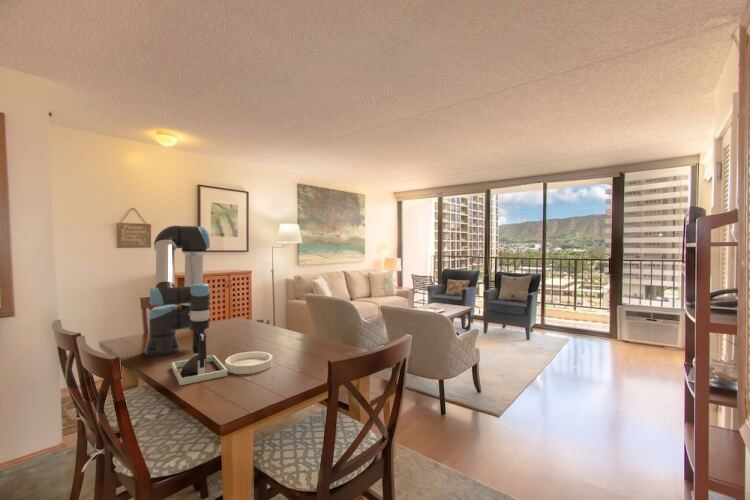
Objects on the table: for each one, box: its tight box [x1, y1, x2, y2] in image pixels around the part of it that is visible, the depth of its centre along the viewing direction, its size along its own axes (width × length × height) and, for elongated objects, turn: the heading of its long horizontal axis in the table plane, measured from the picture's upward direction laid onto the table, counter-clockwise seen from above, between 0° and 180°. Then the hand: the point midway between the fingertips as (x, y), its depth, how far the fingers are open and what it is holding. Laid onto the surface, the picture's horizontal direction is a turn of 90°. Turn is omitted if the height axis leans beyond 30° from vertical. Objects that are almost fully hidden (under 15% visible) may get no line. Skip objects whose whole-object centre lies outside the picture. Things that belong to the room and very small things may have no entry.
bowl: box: [224, 351, 274, 375], centre depth 157 cm, size 20×20×4 cm
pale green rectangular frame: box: [171, 354, 229, 386], centre depth 148 cm, size 24×18×2 cm
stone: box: [180, 355, 208, 375], centre depth 148 cm, size 10×8×10 cm
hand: (198, 371), depth 148 cm, fingers open, 9 cm apart
